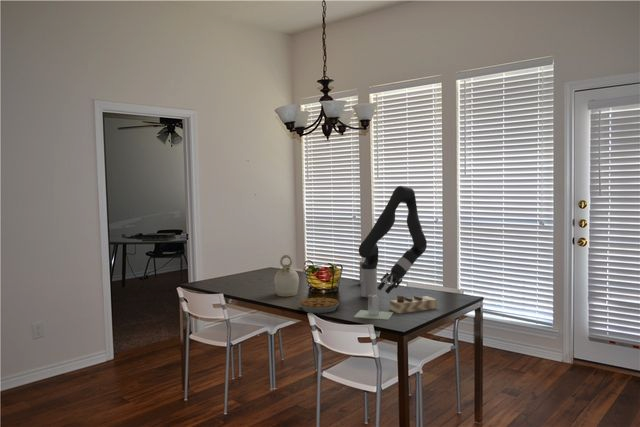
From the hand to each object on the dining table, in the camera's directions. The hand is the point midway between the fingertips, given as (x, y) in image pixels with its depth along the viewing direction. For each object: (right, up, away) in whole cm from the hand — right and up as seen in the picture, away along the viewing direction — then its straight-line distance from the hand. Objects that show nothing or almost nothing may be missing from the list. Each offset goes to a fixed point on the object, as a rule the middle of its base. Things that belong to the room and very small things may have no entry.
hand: (382, 290), depth 266 cm
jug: (-54, -10, +51) cm, 75 cm away
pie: (-33, -12, +14) cm, 38 cm away
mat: (-5, -13, -1) cm, 13 cm away
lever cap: (-5, -12, -1) cm, 13 cm away
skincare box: (-1, -8, +78) cm, 79 cm away
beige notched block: (+18, -11, +10) cm, 24 cm away
